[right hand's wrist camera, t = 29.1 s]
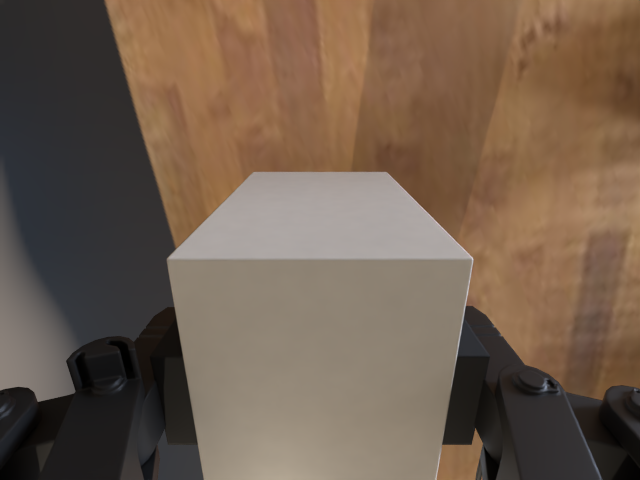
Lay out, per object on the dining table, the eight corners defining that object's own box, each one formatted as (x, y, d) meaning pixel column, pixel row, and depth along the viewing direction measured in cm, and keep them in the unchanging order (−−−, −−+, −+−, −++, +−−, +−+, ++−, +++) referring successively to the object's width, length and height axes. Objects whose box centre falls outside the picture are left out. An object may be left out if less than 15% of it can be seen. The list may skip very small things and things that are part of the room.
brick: (387, 171, 16) (474, 258, 7) (377, 309, 19) (432, 504, 10) (252, 171, 16) (165, 258, 7) (262, 310, 19) (207, 505, 10)
